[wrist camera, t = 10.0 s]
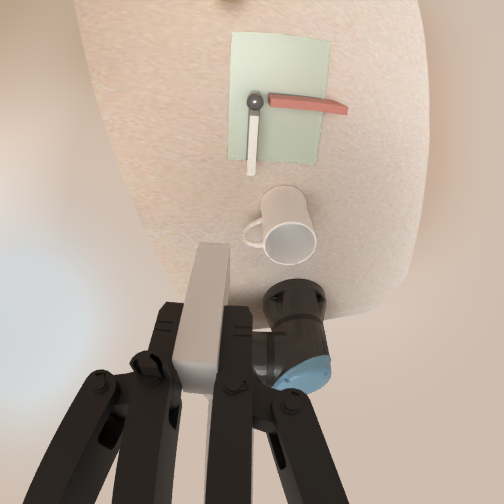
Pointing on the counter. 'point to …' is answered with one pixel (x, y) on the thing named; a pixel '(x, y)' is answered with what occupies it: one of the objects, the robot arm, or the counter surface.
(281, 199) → the mug
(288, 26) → the counter surface
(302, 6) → the counter surface
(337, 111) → the red panel
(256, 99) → the post
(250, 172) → the fixed panel
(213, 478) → the robot arm
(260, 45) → the card
